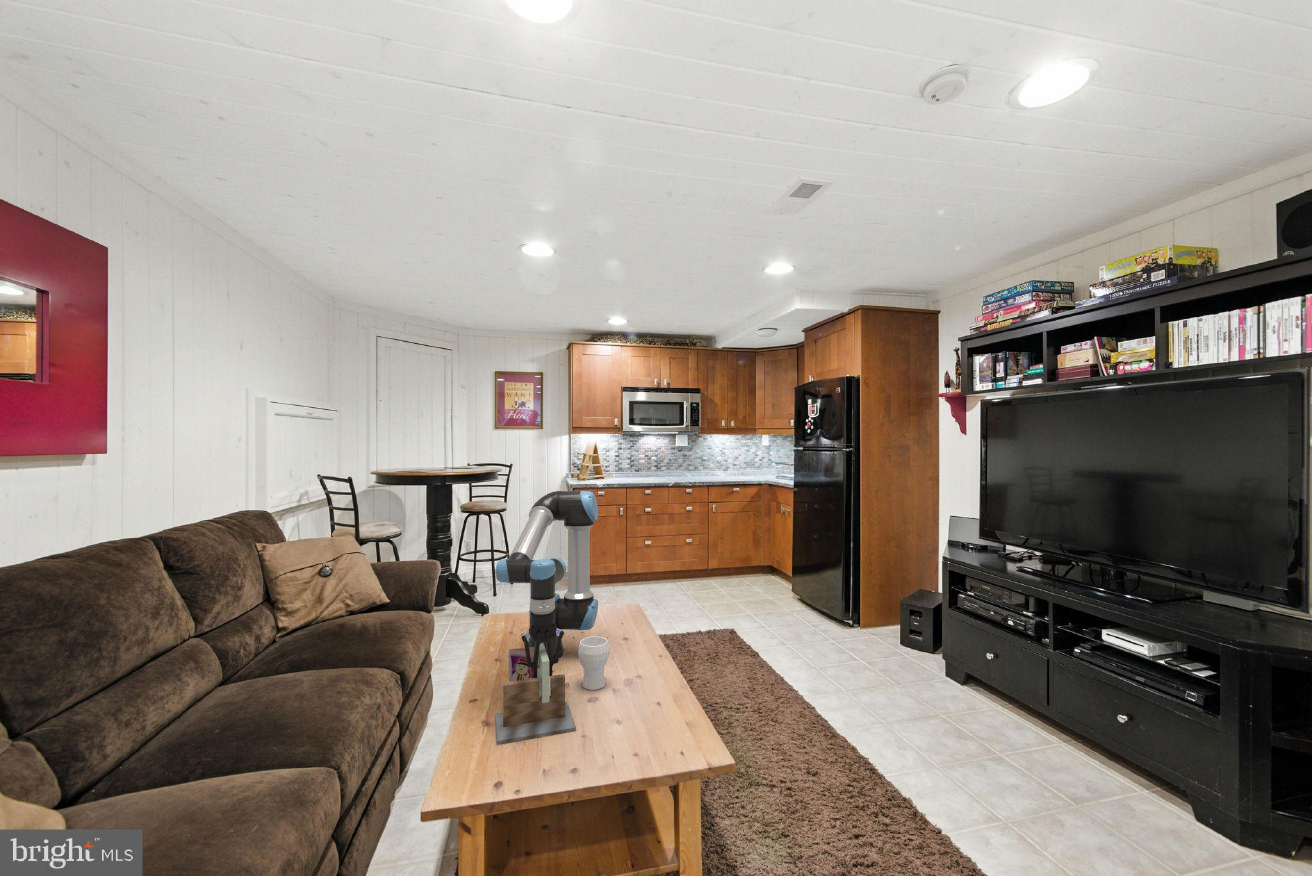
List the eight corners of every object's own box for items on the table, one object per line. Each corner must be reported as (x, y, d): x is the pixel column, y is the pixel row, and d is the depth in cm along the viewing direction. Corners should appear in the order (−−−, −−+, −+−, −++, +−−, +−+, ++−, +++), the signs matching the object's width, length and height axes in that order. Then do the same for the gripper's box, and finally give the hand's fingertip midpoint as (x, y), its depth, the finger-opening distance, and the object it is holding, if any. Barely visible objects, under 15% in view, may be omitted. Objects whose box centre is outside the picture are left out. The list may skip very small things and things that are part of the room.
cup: (604, 693, 176) (603, 648, 176) (573, 690, 178) (573, 646, 178) (613, 679, 186) (612, 636, 187) (584, 677, 189) (584, 634, 189)
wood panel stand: (497, 744, 146) (497, 697, 146) (495, 716, 161) (495, 673, 161) (576, 730, 153) (575, 685, 153) (567, 704, 168) (567, 664, 168)
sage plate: (537, 681, 169) (537, 643, 169) (543, 680, 170) (543, 643, 170) (542, 703, 155) (542, 661, 155) (549, 701, 156) (549, 661, 156)
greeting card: (507, 695, 175) (507, 650, 175) (520, 686, 182) (520, 642, 182) (537, 701, 171) (537, 655, 171) (549, 691, 178) (549, 646, 178)
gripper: (518, 617, 157) (518, 696, 157) (569, 611, 162) (569, 689, 162) (516, 609, 164) (516, 685, 164) (565, 605, 169) (565, 678, 169)
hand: (542, 687), depth 163 cm, fingers closed on sage plate, 2 cm apart
